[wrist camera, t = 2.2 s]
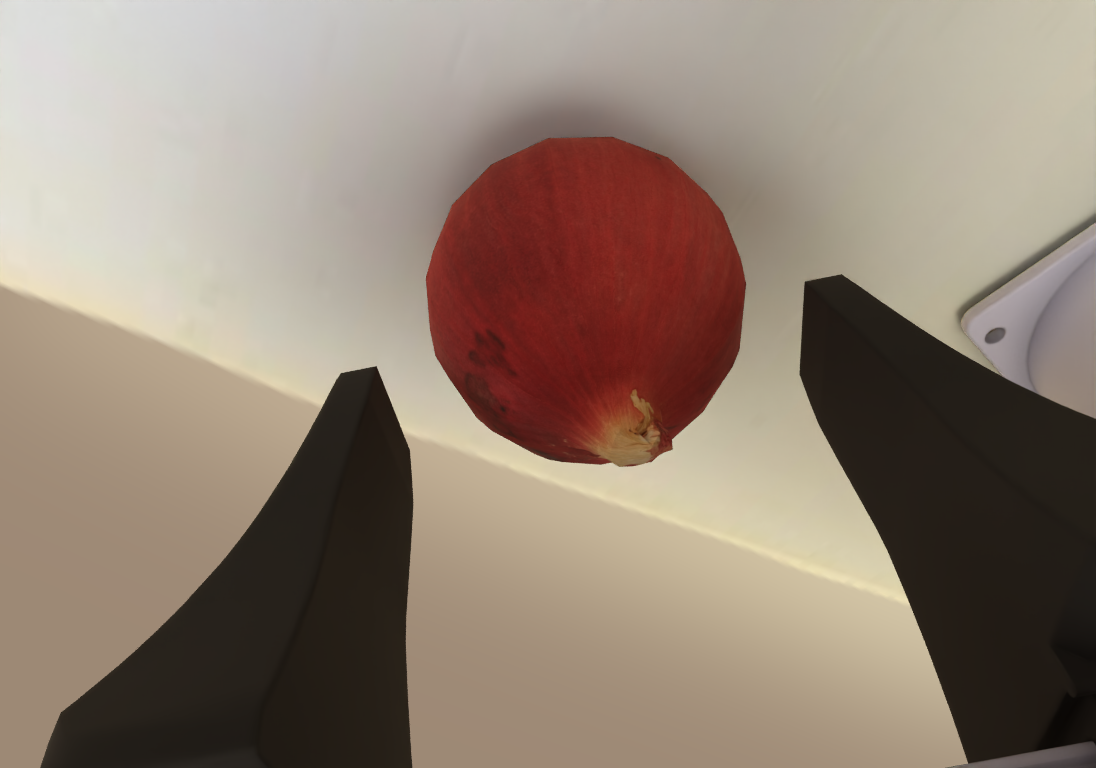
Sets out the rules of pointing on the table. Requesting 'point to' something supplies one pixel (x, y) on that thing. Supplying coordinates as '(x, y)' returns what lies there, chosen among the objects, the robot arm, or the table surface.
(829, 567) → the table surface
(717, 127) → the table surface
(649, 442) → the onion
